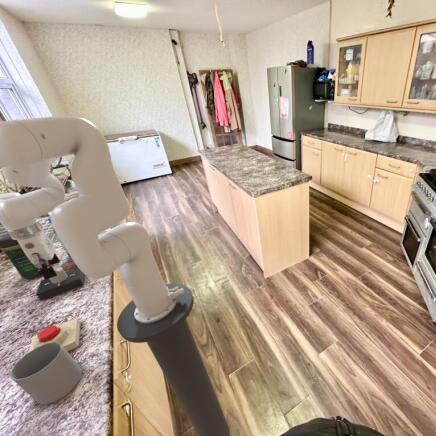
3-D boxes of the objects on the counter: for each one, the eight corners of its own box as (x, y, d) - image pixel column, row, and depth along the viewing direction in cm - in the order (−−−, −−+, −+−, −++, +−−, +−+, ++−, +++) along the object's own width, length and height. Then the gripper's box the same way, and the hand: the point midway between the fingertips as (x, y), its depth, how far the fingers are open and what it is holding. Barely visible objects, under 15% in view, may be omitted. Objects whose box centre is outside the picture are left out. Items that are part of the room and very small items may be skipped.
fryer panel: (84, 272, 94) (80, 266, 93) (83, 284, 88) (79, 278, 86) (45, 286, 88) (40, 280, 87) (40, 300, 82) (35, 294, 80)
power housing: (80, 322, 72) (74, 313, 71) (78, 346, 65) (71, 337, 63) (37, 341, 67) (28, 332, 65) (29, 369, 60) (20, 360, 58)
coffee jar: (47, 274, 95) (19, 235, 86) (20, 282, 91) (-11, 242, 83) (53, 262, 102) (28, 225, 94) (28, 269, 99) (0, 231, 90)
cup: (83, 360, 62) (64, 335, 57) (80, 388, 55) (58, 363, 51) (41, 380, 57) (16, 356, 53) (32, 413, 51) (3, 388, 47)
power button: (60, 326, 67) (57, 322, 66) (59, 336, 64) (55, 332, 63) (42, 334, 65) (38, 330, 64) (39, 345, 62) (35, 341, 61)
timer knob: (49, 282, 86) (43, 273, 84) (63, 274, 89) (57, 265, 87) (56, 284, 84) (49, 275, 82) (70, 276, 88) (64, 268, 86)
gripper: (36, 236, 72) (64, 278, 80) (45, 217, 85) (68, 255, 93) (1, 245, 69) (34, 288, 77) (16, 223, 81) (43, 262, 89)
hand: (53, 270), depth 85 cm, fingers open, 9 cm apart
